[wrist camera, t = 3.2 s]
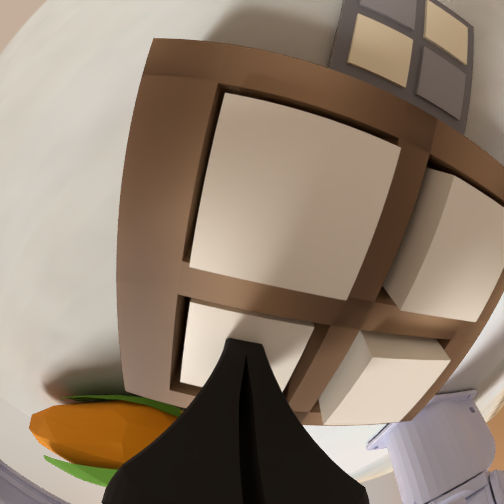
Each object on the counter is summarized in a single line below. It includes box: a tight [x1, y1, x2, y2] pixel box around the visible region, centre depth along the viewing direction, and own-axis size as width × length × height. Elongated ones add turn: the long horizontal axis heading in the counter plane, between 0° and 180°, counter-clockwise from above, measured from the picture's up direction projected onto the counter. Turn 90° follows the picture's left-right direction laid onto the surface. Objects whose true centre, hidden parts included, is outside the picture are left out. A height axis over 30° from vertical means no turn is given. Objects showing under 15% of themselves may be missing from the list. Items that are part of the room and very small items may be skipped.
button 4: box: [189, 93, 401, 300], centre depth 7 cm, size 4×4×2 cm
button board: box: [116, 38, 504, 426], centre depth 10 cm, size 16×14×4 cm
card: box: [328, 0, 474, 136], centre depth 7 cm, size 7×7×1 cm
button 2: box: [382, 168, 504, 322], centre depth 8 cm, size 4×4×2 cm
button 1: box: [318, 330, 451, 425], centre depth 10 cm, size 4×4×2 cm
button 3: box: [180, 298, 314, 392], centre depth 11 cm, size 4×4×2 cm
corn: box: [29, 395, 184, 487], centre depth 14 cm, size 7×8×20 cm
